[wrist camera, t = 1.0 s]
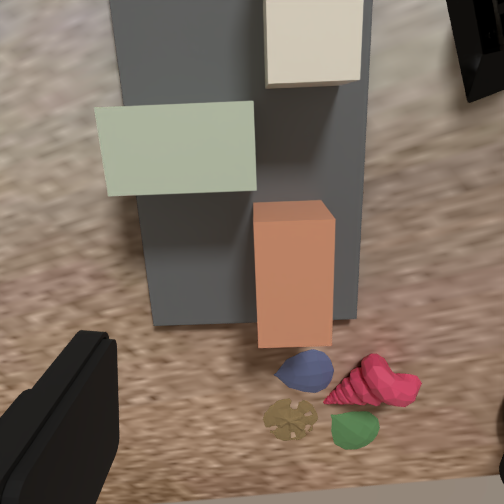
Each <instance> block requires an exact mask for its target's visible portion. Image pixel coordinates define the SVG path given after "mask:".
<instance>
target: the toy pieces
mask: <svg viewBox="0 0 504 504" xmlns="http://www.w3.org/2000/svg"><path fill="white" fill-rule="evenodd" d="M361 366H362V367H357V368H355V369H353V370H351V373H350V377H347V378H344V379H343V381H342V384H339V385H338V386H336V389H335V390H333V391H332V393H330V395H329V396H327V398H325V400H324V401H323V403H324V404H350V405H353V404H358V405H366V404H367V403H369V404H372V405H375V406H380V404H381V402H384V403H386V404H388V405H392V406H399V407H406V406H407V405H409V404H411V403H412V402H414V401H415V399H416V396H417V394H418V391H419V389H420V386H421V384H422V383H421V381H420V380H419V378H418V377H417V376H414V375H410V374H400V373H397V374H395V373H393V372H392V371H391V369H390V368H389V366H388V363H387V362H386V360H385V359H384V358H383V357H381V356H379V355H378V354H370V355H368V356H366V357H364V358H363V360H362V362H361ZM333 372H334V369H333V366H332V363H331V360H330V359H329V357H328V356H327V355H326V354H325V353H324V352H321V351H318V350H308V351H305V352H301V353H299V354H297V355H295V356H293V357H291V358H289V359H287V360H286V361H285V362H284V364H283V365H282V366H281V367H280V369H279V370H278V371H277V373H275V374H274V375H275V376H277V377H278V378H279V379H280V380H281V381H282V382H283V383H285V384H286V385H287V386H288V387H289V388H293V389H297V390H300V391H303V392H312V393H316V392H319V391H321V390H323V389H325V388H326V387H327V386H328V384H329V383H330V382H331V380H332V376H333ZM290 404H291V400H290V399H289V398H288V399H283V400H279V401H277V402H276V403H275V404H274V405H271V406H270V407H269V409H268V411H267V412H266V413H264V417H263V421H264V424H265V426H266V427H271V426H275V425H277V426H278V428H277V429H276V430H274V431H272V430H271V431H270V433H273V434H274V435H275V436H276V438H277V439H280V440H283V441H288V440H293V439H296V440H299V439H302V438H303V437H305V436H306V433H305V430H304V429H305V425H307V424H309V425H311V427H310V429H309V430H308V431H309V432H310V431H312V430H313V427H312V425H313V424H314V423H315V422H316V421H317V419H318V416H317V413H316V411H315V409H314V407H313V405H312V404H310V403H309V402H308V401H305V400H302V402H299V405H298V408H297V409H292V408H290ZM309 411H311V412H312V414H313V415H310V416H304V414H305V413H307V412H309ZM331 418H332V430H331V432H332V436H333V440H334V443H335V444H336V445H338V446H340V447H341V448H343V449H346V450H347V449H359V448H361V447H364V446H366V445H368V444H369V443H370V442H372V441H373V440H374V438H375V437H376V436H377V434H378V431H379V428H380V427H379V422H378V419H377V418H376V417H375V416H374V415H372V414H371V413H370V412H366V411H360V412H348V413H343V414H338V415H331ZM291 432H295V434H296V437H295V438H291Z"/></svg>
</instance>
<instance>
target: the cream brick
mask: <svg viewBox="0 0 504 504" xmlns="http://www.w3.org/2000/svg"><path fill="white" fill-rule="evenodd" d="M363 3H364V0H263V22H264V59H265V89H273V88H296V87H319V86H340V85H343V84H347V83H350V82H354V81H357V80H360V70H361V47H362V25H363Z"/></svg>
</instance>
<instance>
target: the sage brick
mask: <svg viewBox="0 0 504 504" xmlns="http://www.w3.org/2000/svg"><path fill="white" fill-rule="evenodd" d="M94 111H95V117H96V123H97V130H98V136H99V142H100V148H101V155H102V161H103V167H104V174H105V180H106V186H107V192H108V196H129V195H154V194H180V193H205V192H231V191H256V190H257V183H256V156H255V128H254V101H235V102H211V103H188V104H165V105H141V106H118V107H95V108H94Z"/></svg>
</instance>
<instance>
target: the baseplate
mask: <svg viewBox="0 0 504 504" xmlns="http://www.w3.org/2000/svg"><path fill="white" fill-rule="evenodd" d="M109 1H110V9H111V16H112V23H113V30H114V38H115V45H116V52H117V60H118V67H119V74H120V82H121V89H122V96H123V104H124V106H141V105H165V104H188V103H211V102H235V101H254V128H255V156H256V183H257V190H256V191H231V192H205V193H180V194H154V195H136V199H137V206H138V213H139V221H140V228H141V235H142V243H143V250H144V257H145V265H146V272H147V279H148V287H149V294H150V301H151V309H152V316H153V323H154V326H163V325H192V324H222V323H251V322H257V300H256V275H255V250H254V226H253V203H257V202H283V201H308V200H321V201H322V202H323V203H324V205H325V206H326V207H327V209H328V210H329V211H330V213H331V214H332V215H333V216H334V218H335V219H336V220H335V254H334V289H333V320H340V319H356V318H357V299H358V279H359V260H360V240H361V221H362V201H363V182H364V162H365V143H366V123H367V104H368V84H369V65H370V45H371V26H372V6H373V0H364V3H363V25H362V47H361V70H360V80H357V81H354V82H350V83H347V84H343V85H340V86H319V87H296V88H273V89H265V59H264V22H263V0H109Z"/></svg>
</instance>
